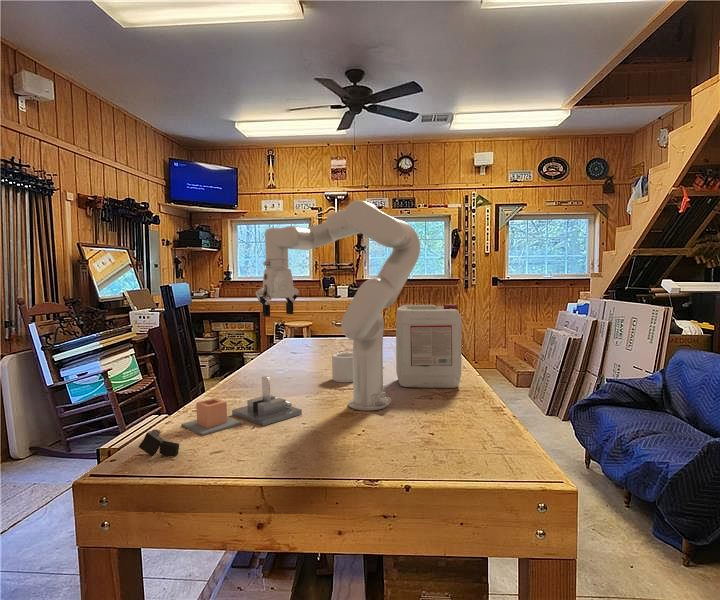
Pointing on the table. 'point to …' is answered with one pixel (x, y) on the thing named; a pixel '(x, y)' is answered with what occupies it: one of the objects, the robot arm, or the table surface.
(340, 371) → the mug
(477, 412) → the table surface
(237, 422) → the mat
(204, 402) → the collar
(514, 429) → the table surface
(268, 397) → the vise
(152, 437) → the lighter
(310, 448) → the table surface
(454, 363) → the jerry can
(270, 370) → the table surface
